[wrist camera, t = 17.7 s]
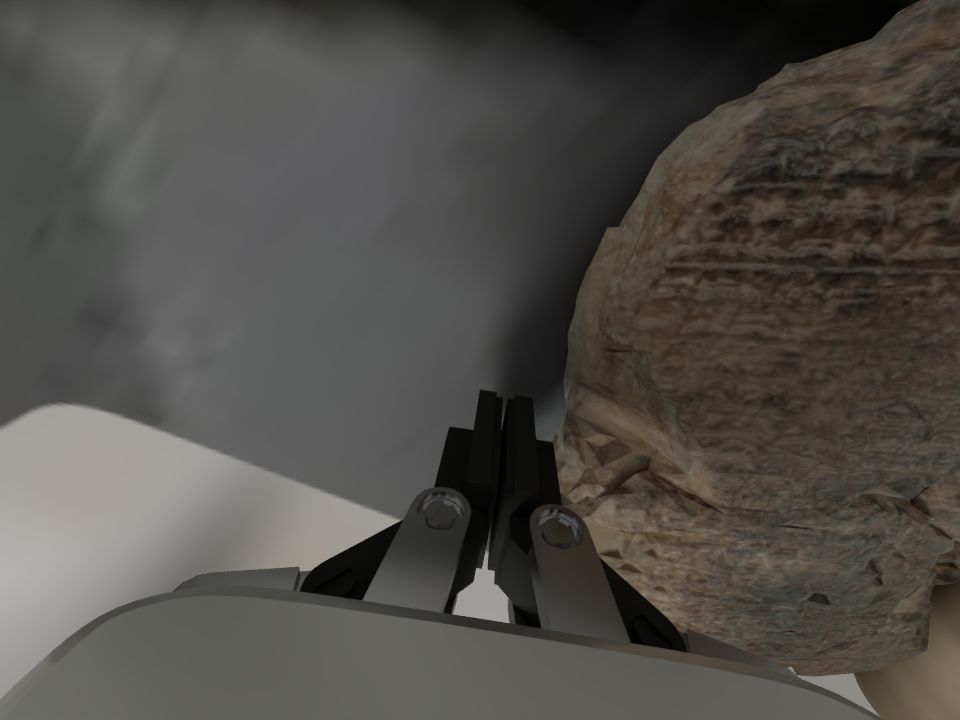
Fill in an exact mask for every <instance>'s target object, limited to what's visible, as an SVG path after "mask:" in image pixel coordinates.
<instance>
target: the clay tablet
mask: <svg viewBox="0 0 960 720" xmlns="http://www.w3.org/2000/svg"><path fill="white" fill-rule="evenodd" d="M563 384H564V394H565V400H566V404H567V406H566V409H565V413H564V416H563V418H562V420H561V423H560V425H559V428H558V430H557V432H556V435H555V437H554V440H553V442H552V443H553V445H554V451H555V458H556V465H557V473H558V480H559V487H560V494H561V501H562V506H564V507H566V508H569V509H571V510H572V511H574V512H575V513H577V514H578V515H579V516H580V517H581V518H582V519H583V520H584V522H585V523H586V525H587V527H588V529H589V532H590V534H591V537H592V540H593V542H594V545H595V548H596V550H597V553H598V556H599V557H600V558H601V559H602V560H603V561H604V562H605V563H607V564H608V565H609V566H610V567H611V568H612V569H613V570H614V571H616V572H617V573H618V574H619V575H620V576H621V577H622V578H623V579H625V580H626V581H627V582H628V583H629V584H630V585H631V586H632V587H633V588H635V589H636V590H637V591H638V592H639V593H640V594H641V595H642V596H644V597H645V598H646V599H647V600H648V601H649V602H650V603H651V604H653V605H654V606H655V607H656V608H657V609H658V610H659V611H660V612H662V613H663V614H664V615H665V616H666V617H667V618H668V619H669V620H670V621H671V622H672V623H673V625H674V626H675V627H676V628H677V630H679V631H681V632H685V631H686V629H687V628H688V629H690V630H693V631H695V632H698V633H701V634H703V635H706V636H708V637H711V638H713V639H716V640H719V641H721V642H724V643H726V644H729V645H732V646H734V647H737V648H739V649H742V650H745V651H747V652H750V653H752V654H755V655H758V656H760V657H763V658H765V659H768V660H770V661H773V662H776V663H778V664H780V665H782V666H783V667H785V668H787V667H791V666H792V667H793V669H794V671H795V672H796V674H797V675H805V676H823V675H837V674H848V673H859V672H868V671H875V670H879V669H883V668H886V667H889V666H892V665H894V664H897V663H899V662H902V661H904V660H907V659H909V658H912V657H914V656H917V655H919V654H921V653H923V652H925V651H927V649H928V639H929V624H930V614H929V611H930V610H931V608H932V607H933V605H934V604H933V603H932V602H931V601H930V600H929V598H930V595H931V592H932V589H933V587H934V585H945V584H953V583H955V582H956V581H957V580H959V579H960V0H920V1H918V2H916V3H914V4H912V5H910V6H908V7H906V8H905V9H903V10H901V11H899V12H898V13H897V14H896V15H895V16H894V17H893V18H892V19H891V20H890V21H889V22H888V23H887V24H886V25H885V26H884V27H883V28H882V29H881V30H880V31H879V32H878V33H877V34H876V35H875V36H874V37H873V38H872V39H870V40H867V41H864V42H860V43H857V44H854V45H851V46H848V47H844V48H841V49H838V50H836V51H833V52H830V53H827V54H825V55H822V56H819V57H816V58H814V59H811V60H808V61H805V62H801V63H791V64H786V65H785V66H784V68H783V69H782V70H781V71H780V72H779V73H778V74H776V75H774V76H773V77H771V78H770V79H768V80H766V81H765V82H763V83H761V84H760V85H759V86H758V87H757V89H756V90H755V91H754V92H753V93H751V94H749V95H747V96H744V97H741V98H738V99H736V100H733V101H730V102H727V103H725V104H722V105H719V106H718V107H717V108H716V109H714V110H713V111H712V112H711V113H710V114H709V115H708V116H707V117H705V118H704V119H701V120H699V121H696V122H694V123H692V124H690V125H689V126H688V127H687V128H686V129H685V130H684V131H683V132H682V133H681V134H680V135H679V136H678V137H677V138H676V139H675V140H674V141H673V142H672V143H671V144H670V145H669V146H668V147H667V148H666V149H665V150H664V151H663V152H662V153H661V154H660V155H659V156H658V158H657V160H656V161H655V163H654V165H653V167H652V169H651V170H650V172H649V174H648V176H647V178H646V180H645V182H644V184H643V186H642V188H641V190H640V192H639V194H638V196H637V197H636V199H635V201H634V202H633V204H632V205H631V207H630V208H629V210H628V211H627V213H626V214H625V216H624V218H623V220H622V221H621V223H620V225H619V227H607V229H606V232H605V234H604V236H603V238H602V240H601V243H600V245H599V247H598V249H597V251H596V254H595V256H594V258H593V260H592V263H591V264H590V266H589V267H588V268H587V270H586V273H585V276H584V279H583V281H582V284H581V287H580V290H579V292H578V295H577V298H576V305H575V313H574V316H573V319H572V321H571V324H570V327H569V330H568V356H567V362H566V369H565V375H564V381H563Z"/></svg>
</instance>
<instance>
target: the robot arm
mask: <svg viewBox="0 0 960 720" xmlns="http://www.w3.org/2000/svg"><path fill="white" fill-rule="evenodd" d="M496 396H497V392H492V391H486V390H480V393H479V399H478V406H477V412H476V419H475V425H474V430H469V429H462V428H456V427H449V430H448V434H447V438H446V442H445V446H444V450H443V454H442V458H441V462H440V466H439V470H438V474H437V478H436V482H435V486H434V488H430V489H427V490H424V491H423V492H421V493H420V494H419V495H417V496H416V498H415V499H414V500H413V502H412V504H411V506H410V508H409V510H408V512H407V514H406V516H405V518H404V519H403V520H401V521H400V522H398V523H396V524H394V525H392V526H390V527H388V528H386V529H385V530H383V531H381V532H379V533H377V534H375V535H373V536H372V537H369V538H368V539H366V540H364V541H362V542H360V543H358V544H356V545H355V546H353V547H351V548H349V549H347V550H345V551H343V552H341V553H339V554H338V555H336V556H334V557H332V558H330V559H328V560H326V561H324V562H323V563H321V564H320V565H318V566H317V567H315V568H314V569H313V570H312V571H302V572H300V569H299V567H289V568H274V569H259V570H244V571H230V572H214V573H206V574H202V575H198V576H195V577H193V578H191V579H189V580H187V581H185V582H183V583H182V584H180V585H179V586H178V587H177V588H176V589H174V590H173V591H172V592H167V593H163V594H158V595H154V596H150V597H147V598H143V599H140V600H136V601H133V602H131V603H128V604H125V605H123V606H120V607H117V608H115V609H113V610H111V611H109V612H107V613H105V614H103V615H101V616H99V617H97V618H96V619H94V620H93V621H91V622H90V623H88V624H86V625H85V626H83V627H82V628H81V629H79V630H78V631H77V632H75V633H74V634H73V635H71V636H70V637H69V638H67V639H66V640H65V641H64V642H62V643H61V644H60V645H59V646H58V647H56V648H55V649H54V650H53V651H52V652H51V653H49V654H48V655H47V656H46V657H45V658H44V659H43V660H42V661H41V662H39V664H37V665H36V666H35V667H34V668H33V669H32V670H31V671H30V672H29V673H27V674H26V675H25V676H24V677H23V678H22V679H21V680H20V681H19V682H18V683H17V684H15V686H13V688H11V689H10V690H9V691H8V692H7V693H6V694H5V695H4V696H3V697H2V698H1V699H0V720H883V719H882V718H880V717H879V716H877V715H875V714H874V713H872V712H870V711H868V710H867V709H865V708H862V707H861V706H859V705H857V704H855V703H853V702H851V701H850V700H848V699H846V698H844V697H842V696H840V695H838V694H836V693H834V692H831V691H829V690H826V689H824V688H822V687H819V686H817V685H814V684H812V683H809V682H807V681H804V680H802V679H800V678H799V677H798V676H797V675H795V674H794V673H793V672H792V671H791V670H789V669H787V668H785V667H783V666H782V665H780V664H778V663H776V662H773V661H770V660H768V659H765V658H763V657H760V656H758V655H755V654H752V653H750V652H747V651H745V650H742V649H739V648H737V647H734V646H732V645H729V644H726V643H724V642H721V641H719V640H716V639H713V638H711V637H708V636H706V635H703V634H701V633H698V632H695V631H693V630H690V629H688V628H687V629H686V631H685V632H681V631H679V630H677V628H676V627H675V626H674V625H673V623H672V622H671V621H670V620H669V619H668V618H667V617H666V616H665V615H664V614H663V613H662V612H660V611H659V610H658V609H657V608H656V607H655V606H654V605H653V604H651V603H650V602H649V601H648V600H647V599H646V598H645V597H644V596H642V595H641V594H640V593H639V592H638V591H637V590H636V589H635V588H633V587H632V586H631V585H630V584H629V583H628V582H627V581H626V580H625V579H623V578H622V577H621V576H620V575H619V574H618V573H617V572H616V571H614V570H613V569H612V568H611V567H610V566H609V565H608V564H607V563H605V562H604V561H603V560H602V559H601V558H600V557H599V556H598V553H597V550H596V548H595V545H594V542H593V540H592V537H591V534H590V532H589V529H588V527H587V525H586V523H585V522H584V520H583V519H582V518H581V517H580V516H579V515H578V514H577V513H575V512H574V511H572V510H571V509H569V508H566V507H564V506H562V501H561V494H560V487H559V480H558V473H557V465H556V458H555V451H554V445H553V443H552V442H547V441H541V440H536V434H535V421H534V408H533V398H532V397H525V396H519V395H515V397H514V399H508V400H507V405H506V410H505V416H504V421H503V426H502V431H501V425H502V405H503V398H501V397H496ZM489 530H490V541H489V557H488V570H494V571H495V581H494V582H495V583H494V584H496V585H498V586H499V587H500V588H501V590H502V591H503V592H504V593H505V594H506V595H507V597H508V598H509V599H508V613H509V622H510V623H503V622H497V621H491V620H484V619H478V618H471V617H465V616H459V615H453V611H454V608H455V604H456V601H457V595H458V593H459V592H460V591H462V590H463V589H464V588H466V587H467V586H468V585H470V584H471V583H472V582H473V581H474V576H475V571H476V568H482V565H483V560H484V555H485V550H486V545H487V540H488V535H489Z"/></svg>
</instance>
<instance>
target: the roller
mask: <svg viewBox="0 0 960 720" xmlns="http://www.w3.org/2000/svg"><path fill="white" fill-rule="evenodd" d="M929 600H930V601H931V602H932V603H933V604H934V605H933V607H932V608H931V610H930V611H929V614H930V624H929V639H928V649H927V651H925V652H923V653H921V654H919V655H917V656H914V657H912V658H909V659H907V660H904V661H902V662H899V663H897V664H894V665H892V666H889V667H886V668H883V669H879V670H875V671H868V672H859V673H854V675H855V678H856V681H857V683H858V685H859V687H860V689H861V690H862V692H863V694H864V696H865V697H866V699H867V700H868V701H869V703H870V704H871V706H872V707H873V708H874V710H875V711H876V712H877V713H878V715H879V716H880V717H881V718H882V719H883V720H960V579H959V580H957V581H956V582H955V583H953V584H945V585H934V587H933V589H932V592H931V595H930V598H929Z"/></svg>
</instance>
